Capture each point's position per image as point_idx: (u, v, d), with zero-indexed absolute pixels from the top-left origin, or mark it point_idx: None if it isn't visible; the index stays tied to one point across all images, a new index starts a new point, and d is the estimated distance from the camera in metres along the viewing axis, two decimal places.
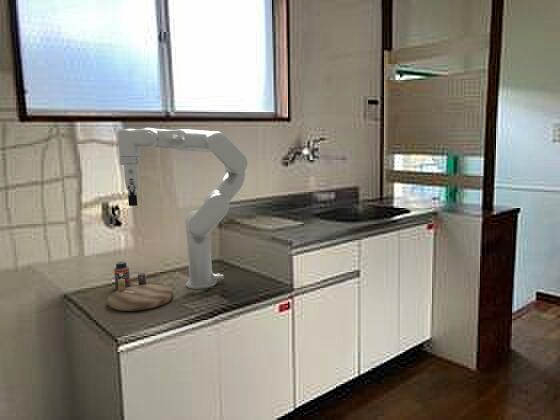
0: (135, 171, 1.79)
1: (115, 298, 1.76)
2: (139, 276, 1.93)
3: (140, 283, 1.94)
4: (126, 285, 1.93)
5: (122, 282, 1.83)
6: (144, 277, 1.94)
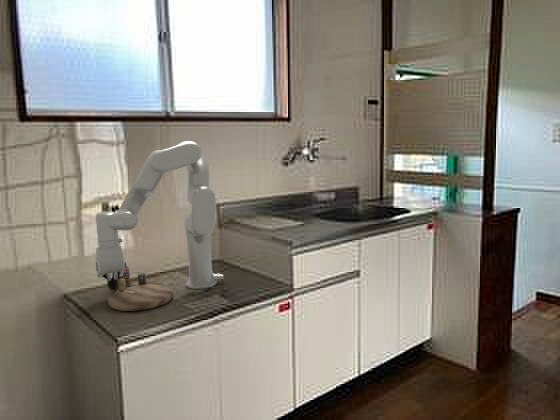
0: None
1: (115, 298, 1.76)
2: (139, 276, 1.93)
3: (140, 283, 1.94)
4: (126, 285, 1.93)
5: (122, 282, 1.83)
6: (144, 277, 1.94)
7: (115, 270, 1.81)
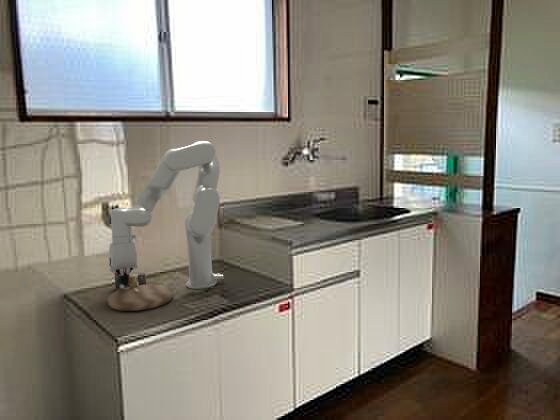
0: None
1: (117, 294, 1.80)
2: (139, 276, 1.93)
3: (140, 283, 1.94)
4: (126, 285, 1.93)
5: (132, 279, 1.87)
6: (144, 277, 1.94)
7: (128, 265, 1.84)
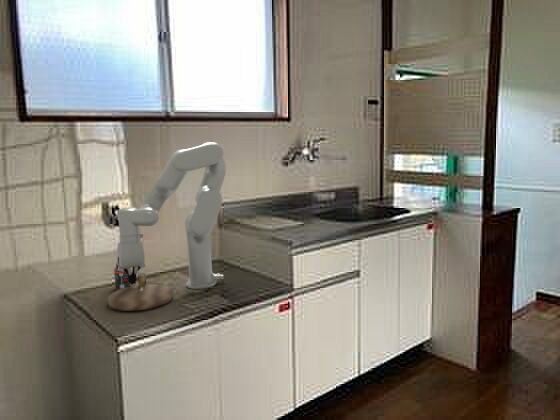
0: None
1: (121, 292, 1.83)
2: None
3: None
4: (126, 285, 1.93)
5: (139, 278, 1.88)
6: None
7: (136, 264, 1.86)
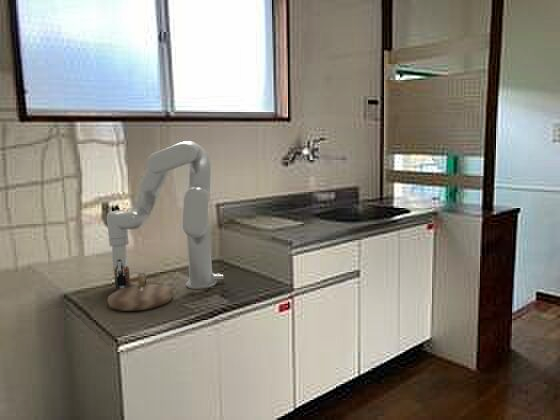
0: None
1: (121, 292, 1.83)
2: None
3: None
4: (126, 285, 1.93)
5: (139, 278, 1.88)
6: None
7: (126, 264, 1.95)
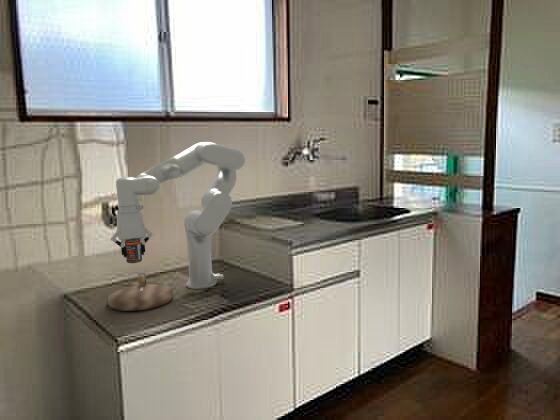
0: None
1: (121, 292, 1.83)
2: None
3: None
4: (127, 258, 1.79)
5: (139, 278, 1.88)
6: None
7: (135, 237, 1.78)
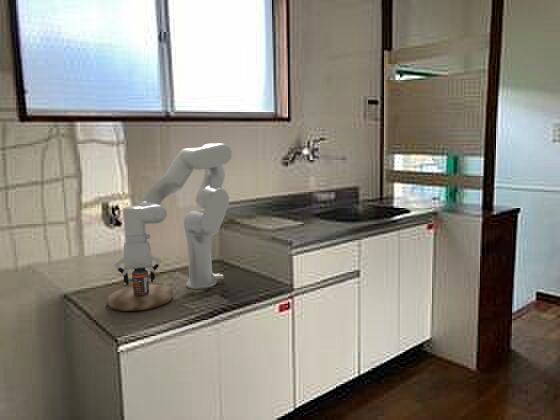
0: None
1: (121, 292, 1.83)
2: None
3: None
4: (134, 291, 1.77)
5: None
6: None
7: (141, 266, 1.76)
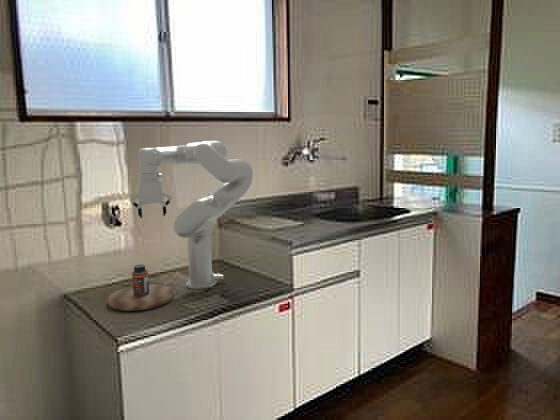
0: None
1: (121, 292, 1.83)
2: None
3: None
4: (134, 291, 1.77)
5: None
6: None
7: (154, 201, 1.99)
